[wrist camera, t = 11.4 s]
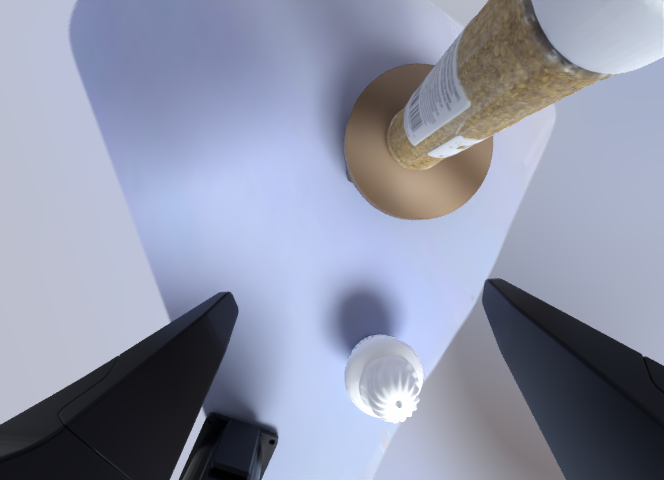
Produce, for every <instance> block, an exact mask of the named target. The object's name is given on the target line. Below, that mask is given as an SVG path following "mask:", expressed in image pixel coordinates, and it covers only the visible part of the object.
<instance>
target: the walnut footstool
mask: <svg viewBox="0 0 664 480" xmlns="http://www.w3.org/2000/svg"><path fill="white" fill-rule="evenodd" d="M434 67H435V65H429V64H409V65H404V66H400V67H396V68H394V69H391V70H389V71H387V72H385V73H384V74H382V75H380V76H379V77H377V78H376V79H375V80H374V81H373V82H371V83H370V84H369V85H368V86H367V88H366V89H365V90H364V91H363V92H362V94H361V95H360V97H359V98H358V100H357V102H356V103H355V105H354V107H353V110H352V112H351V115H350V118H349V120H348V123H347V127H346V131H345V137H344V156H345V162H346V166H347V169H348V172H347V179H348V180H349V181H350V182H353V183H354V185H355V187H356V188H357V190H358V191H359V192H360V194H361V195H362V196H363V197H364V198H365V199H366V200H367V201H368V202H369V203H370V204H371V205H372V206H374V207H375V208H376V209H378V210H380V211H381V212H383V213H385V214H388V215H390V216H393V217H396V218H400V219H407V220H423V219H432V218H437V217H440V216H444V215H446V214H449V213H451V212H453V211H455V210H456V209H458V208H459V207H461V206H462V205H464V204H465V203H466V202H467V201H468V200H469V199H470V198H471V197H472V196H473V195H474V194H475V193H476V192H477V190H478V189H479V187H480V186H481V184H482V183H483V181H484V179H485V177H486V175H487V172H488V169H489V167H490V163H491V159H492V152H493V135H492V136H491V137H489V138H487V139H485V140H483V141H481V142H479V143H477V144H475V145H473V146H471V147H469V148H467V149H465V150H463V151H461V152H459V153H457V154H455V155H453V156H449V157H447V158H445V159H443V160H441V161H440V162H439V163H437V164H436V165H435V166H433V167H431V168H428V169H426V170H421V171H415V170H409V169H406V168H404V167H401V166H400V165H399V164H398V163H397V162H396V161H395V160H394V159H393V157H392V156H391V154H390V152H389V150H388V146H387V132H388V127H389V125H390V122H391V120H392V119H393V118H394V116H395V115H396V114H397V113H398V112H399V111H401V110H402V109H403V108H404V107H405V106H406V104H407V103H408V101H409V100H410V98H411V96H412V95H413V94H414V92H415V91H416V90H417V88H418V87H419V86H420V85H421V83H422V82H423V81H424V79H425V78H426V77H427V76H428V74H429V73H430V72H431V70H432V69H433V68H434Z"/></svg>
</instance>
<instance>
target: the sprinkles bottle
mask: <svg viewBox="0 0 664 480" xmlns="http://www.w3.org/2000/svg"><path fill="white" fill-rule="evenodd" d="M662 57H664V0H489V1H488V2H487V3H486V5H485V6H484V7H483V8H482V10H481V11H480V12H479V14H478V15H476V16H475V17H474V18H473V19H472V20H471V21H470V22H469V23H468V25H467V26H466V27H465V28H464V30H463V31H462V32H461V34H460V35H459V36H458V37H457V39H456V40H455V41H454V42H453V44H452V45H451V46H450V47H449V49H448V50H447V51H446V52H445V54H444V55H443V56H442V58H441V59H440V60H439V61H438V63H437V64H436V65H435V67H434V68H433V69H432V70H431V72H430V73H429V74H428V76H427V77H426V78H425V79H424V81H423V82H422V83H421V85H420V86H419V87H418V88H417V90H416V91H415V92H414V94H413V95H412V96H411V98H410V100H409V101H408V103H407V104H406V106H405V107H404V108H403V109H402V110H401V111H399V112H398V113H397V114H396V115H395V116H394V118H393V119H392V120H391V122H390V125H389V127H388V132H387V146H388V150H389V152H390V154H391V156H392V157H393V159H394V160H395V161H396V162H397V163H398V164H399V165H400V166H401V167H404V168H406V169H409V170H415V171H421V170H426V169H428V168H431V167H433V166H435V165H436V164H437V163H439V162H440V161H441V160H443V159H445V158H447V157H449V156H453V155H455V154H457V153H459V152H461V151H463V150H465V149H467V148H469V147H471V146H473V145H475V144H477V143H479V142H481V141H483V140H485V139H487V138H489V137H491V136H492V135H494V134H496V133H498V132H500V131H502V130H504V129H506V128H508V127H510V126H512V125H514V124H516V123H517V122H519V121H521V120H522V119H524V118H525V117H526V116H528V115H531V114H532V113H535V112H537V111H539V110H541V109H543V108H545V107H547V106H548V105H550V104H552V103H555V102H556V101H558V100H561V99H562V98H564V97H566V96H568V95H571V94H573V93H575V92H576V91H578V90H580V89H582V88H584V87H585V86H588V85H590V84H592V83H594V82H595V81H597V80H603V79H606V78H609V77H611V76H614V75H616V74H618V73H624V72H629V71H633V70H636V69H639V68H641V67H643V66H645V65H647V64H650V63H652V62H654V61H656V60H658V59H660V58H662Z"/></svg>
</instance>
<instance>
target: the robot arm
mask: <svg viewBox="0 0 664 480" xmlns="http://www.w3.org/2000/svg"><path fill="white" fill-rule="evenodd" d="M482 303H483V307H484V310H485V312H486V315H487V318H488V320H489V323H490V326H491V328H492V330H493V333H494V336H495V339H496V342H497V344H498V347H499V349H500V351H501V353H502V355H503V357H504V359H505V361H506V363H507V365H508V367H509V369H510V371H511V373H512V375H513V377H514V379H515V381H516V383H517V385H518V387H519V389H520V391H521V392H522V394H523V397H524V399H525V400H526V402H527V404H528V406H529V408H530V410H531V412H532V414H533V416H534V418H535V420H536V422H537V424H538V426H539V428H540V430H541V431H542V434H543V436H544V437H545V440H546V441H547V443H548V445H549V447H550V449H551V451H552V453H553V455H554V457H555V459H556V461H557V463H558V465H559V467H560V468H561V471H562V473H563V475H564V476H565V479H566V480H664V366H663V365H661V364H659V363H657V362H656V361H654V360H651V359H650V358H648V357H643V356H642V354H640V353H639V352H637V351H635V350H633V349H631V348H629V347H627V346H626V345H624V344H622V343H620V342H618V341H616V340H614V339H613V338H611V337H609V336H607V335H605V334H603V333H601V332H600V331H598V330H596V329H594V328H592V327H590V326H588V325H587V324H585V323H583V322H581V321H579V320H577V319H575V318H574V317H572V316H570V315H568V314H566V313H564V312H562V311H561V310H559V309H557V308H555V307H553V306H551V305H549V304H547V303H546V302H544V301H542V300H540V299H538V298H536V297H534V296H532V295H531V294H529V293H527V292H525V291H523V290H521V289H520V288H517V287H516V286H514V285H512V284H510V283H508V282H507V281H505V280H503V279H500V278H495V279H487V280H486V281H485V284H484V290H483V296H482ZM237 316H238V306H237V304H236V301H235V299H234V297H233V295H232V293H231V292H219V293H217V294H216V295H214V296H213V297H211V298H209V299H208V300H206V301H205V302H203V303H201V304H200V305H198V306H197V307H195V308H193V309H192V310H190V311H189V312H187V313H186V314H184V315H182V316H181V317H179V318H178V319H176V320H174V321H173V322H171V323H170V324H168V325H166V326H165V327H163V328H162V329H160V330H158V331H157V332H155V333H154V334H152V335H150V336H149V337H147V338H146V339H144V340H142V341H141V342H139V343H138V344H136V345H134V346H133V347H131V348H130V349H128V350H127V351H125V352H123V353H122V354H120V356H117V357H115V358H114V359H112V360H110V361H109V362H108V363H106V364H104V365H102V366H101V367H99V368H97V369H96V370H94V371H93V372H91V373H89V374H88V375H86V376H85V377H83V378H81V379H80V380H78V381H76V382H74V383H72V384H71V385H69V386H67V387H65V388H64V389H62V390H60V391H59V392H57V393H55V394H53V395H52V396H50V397H48V398H46V399H45V400H43V401H41V402H39V403H38V404H36V405H34V406H32V407H31V408H29V409H27V410H26V411H24V412H22V413H20V414H19V415H17V416H15V417H13V418H11V419H10V420H8V421H6V422H4V423H3V424H1V425H0V480H170V478H171V476H172V473H173V470H174V469H175V467H176V464H177V462H178V460H179V457H180V455H181V453H182V450H183V448H184V446H185V444H186V441H187V439H188V437H189V434H190V432H191V430H192V428H193V425H194V423H195V421H196V418H197V416H198V414H199V412H200V409H201V407H202V405H203V402H204V400H205V398H206V396H207V393H208V391H209V389H210V386H211V384H212V382H213V380H214V377H215V375H216V373H217V370H218V368H219V366H220V364H221V361H222V359H223V357H224V354H225V352H226V349H227V346H228V343H229V340H230V337H231V334H232V331H233V328H234V325H235V322H236V319H237ZM210 419H213V420H214V421H211V420H210ZM271 439H273V440H274V441H271ZM277 443H278V435H277V434H275V433H273V432H270V431H267V430H264V429H261V428H258V427H255V426H252V425H249V424H247V423H244V422H241V421H238V420H235V419H232V418H229V417H226V416H223V415H220V414H217V413H214V412H213V413H210V414H208V416H207V418H206V420H205V422H204V424H203V426H202V429H201V431H200V433H199V435H198V437H197V440H196V442H195V444H194V446H193V449H192V451H191V453H190V455H189V458H188V460H187V462H186V464H185V467H184V469H183V471H182V473H181V476H180V478H179V480H261V479H262V477H263V475H264V472H265V470H266V468H267V466H268V463H269V461H270V459H271V457H272V455H273V452H274V450H275V448H276V446H277Z"/></svg>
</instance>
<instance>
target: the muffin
mask: <svg viewBox="0 0 664 480" xmlns="http://www.w3.org/2000/svg"><path fill="white" fill-rule="evenodd" d="M422 383H423V368H422V364H421V361H420V359H419V357H418V355H417V353H416V352H415V351H414V349H413V348H412V347H411V346H409V345H408V344H407V343H405V342H404V341H402V340H400V339H398V338H395V337H393V336H388V335H381V334H378V335H373V336H368V337H367V338H365V339H362V340H361V341H360V342H359V343H358V344H357V345H356V346H355V348H354V349H353V350H352V351H351V355H350V356H349V357H348V361H347V364H346V368H345V386H346V390H347V393H348V395H349V397H350V399H351V400H352V401H353V403H354V404H355V405H356V406H357V407H358V408H359V409H361V410H362V411H363V412H365V413H367V414H369V415H371V416H374V417H380V418H381V419H382V420H383V421H386V422H389V421H390V422H392V423H397V422H398V421H405V419H406V417H407V416H409V417H411V416H412V411H413V410H416V409H417V406H416V403H418V402H419V400H420V398H419V396H418V394H419V392H420V390H421V387H422Z"/></svg>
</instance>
